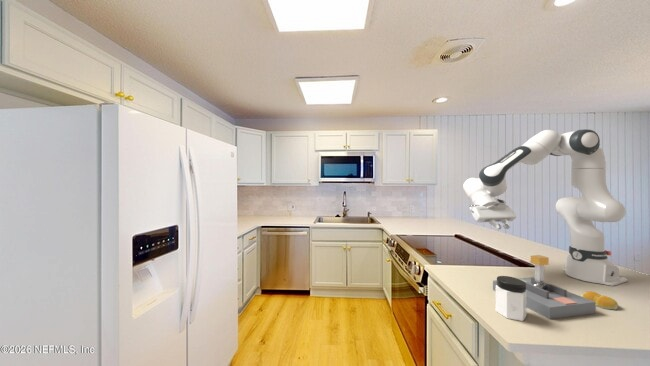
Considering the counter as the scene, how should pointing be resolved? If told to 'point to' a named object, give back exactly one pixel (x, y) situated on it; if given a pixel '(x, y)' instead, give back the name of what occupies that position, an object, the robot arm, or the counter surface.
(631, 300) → the counter surface
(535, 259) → the breaker lever
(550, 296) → the switch panel
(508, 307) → the jar
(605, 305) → the bread roll
